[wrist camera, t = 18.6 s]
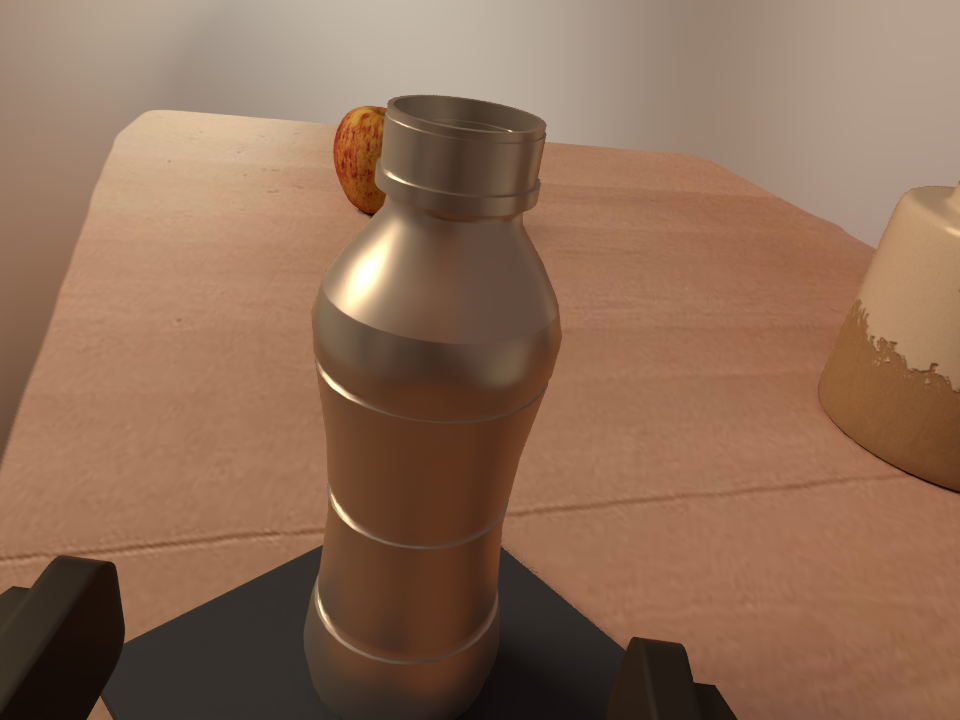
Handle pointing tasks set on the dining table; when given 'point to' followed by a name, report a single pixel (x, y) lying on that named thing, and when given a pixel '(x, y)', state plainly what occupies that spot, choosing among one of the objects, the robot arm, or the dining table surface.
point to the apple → (360, 156)
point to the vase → (905, 343)
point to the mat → (285, 672)
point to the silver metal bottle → (427, 409)
